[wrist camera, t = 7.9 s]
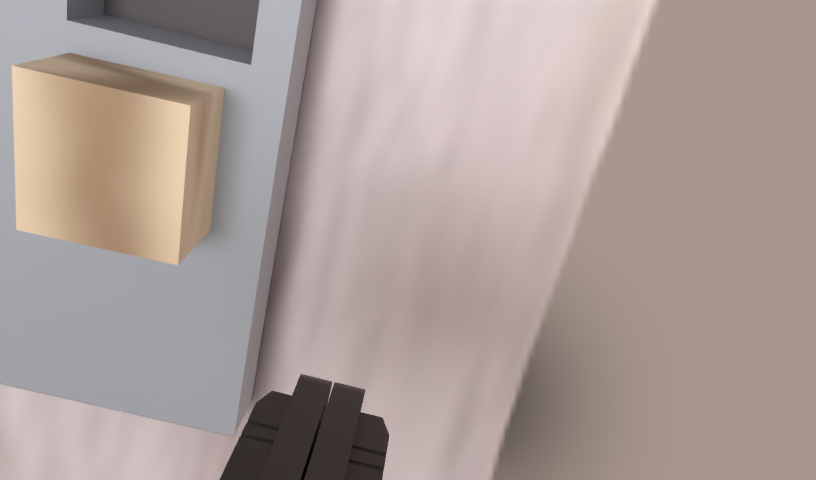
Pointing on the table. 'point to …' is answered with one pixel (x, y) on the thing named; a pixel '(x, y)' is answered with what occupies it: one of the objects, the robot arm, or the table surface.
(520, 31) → the table surface
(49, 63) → the beech block
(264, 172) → the board
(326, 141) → the table surface
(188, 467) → the table surface
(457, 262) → the table surface
